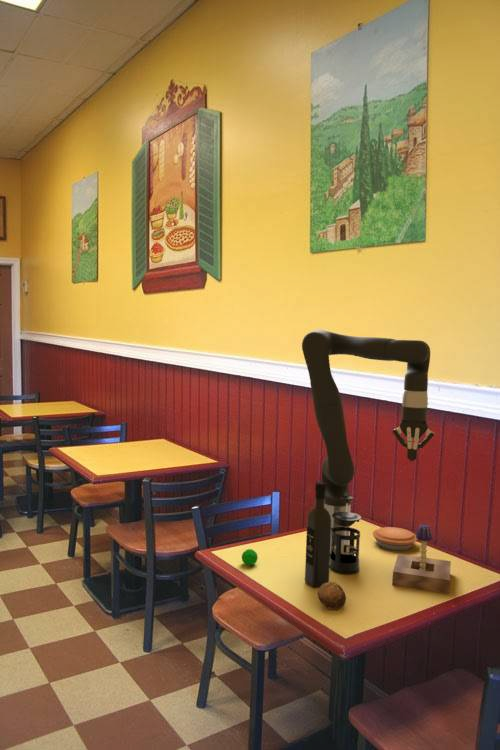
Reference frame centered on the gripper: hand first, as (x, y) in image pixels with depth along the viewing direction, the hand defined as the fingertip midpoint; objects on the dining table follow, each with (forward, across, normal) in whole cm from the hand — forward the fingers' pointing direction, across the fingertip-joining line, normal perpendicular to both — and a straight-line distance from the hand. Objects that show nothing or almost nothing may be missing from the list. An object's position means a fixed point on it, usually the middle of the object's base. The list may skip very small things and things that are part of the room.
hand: (411, 460), depth 190 cm
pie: (+35, -6, +23) cm, 43 cm away
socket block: (+35, +5, -5) cm, 36 cm away
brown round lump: (+35, -17, -34) cm, 52 cm away
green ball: (+35, -47, -15) cm, 61 cm away
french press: (+35, -19, -6) cm, 40 cm away
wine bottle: (+35, -24, -21) cm, 47 cm away
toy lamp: (+35, +5, -5) cm, 36 cm away
